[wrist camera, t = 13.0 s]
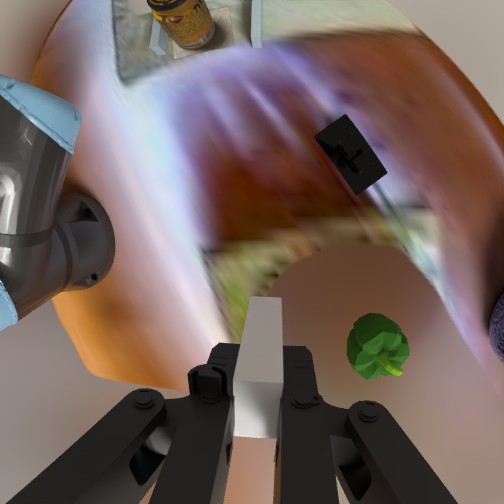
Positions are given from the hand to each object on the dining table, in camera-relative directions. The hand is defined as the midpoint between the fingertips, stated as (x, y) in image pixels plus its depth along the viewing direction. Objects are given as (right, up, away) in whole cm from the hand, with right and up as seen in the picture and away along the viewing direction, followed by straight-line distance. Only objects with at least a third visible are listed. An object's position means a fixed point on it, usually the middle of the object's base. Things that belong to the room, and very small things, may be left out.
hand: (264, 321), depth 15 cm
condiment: (-8, +34, +17) cm, 39 cm away
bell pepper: (+16, -8, +26) cm, 32 cm away
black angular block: (+12, +16, +21) cm, 29 cm away
